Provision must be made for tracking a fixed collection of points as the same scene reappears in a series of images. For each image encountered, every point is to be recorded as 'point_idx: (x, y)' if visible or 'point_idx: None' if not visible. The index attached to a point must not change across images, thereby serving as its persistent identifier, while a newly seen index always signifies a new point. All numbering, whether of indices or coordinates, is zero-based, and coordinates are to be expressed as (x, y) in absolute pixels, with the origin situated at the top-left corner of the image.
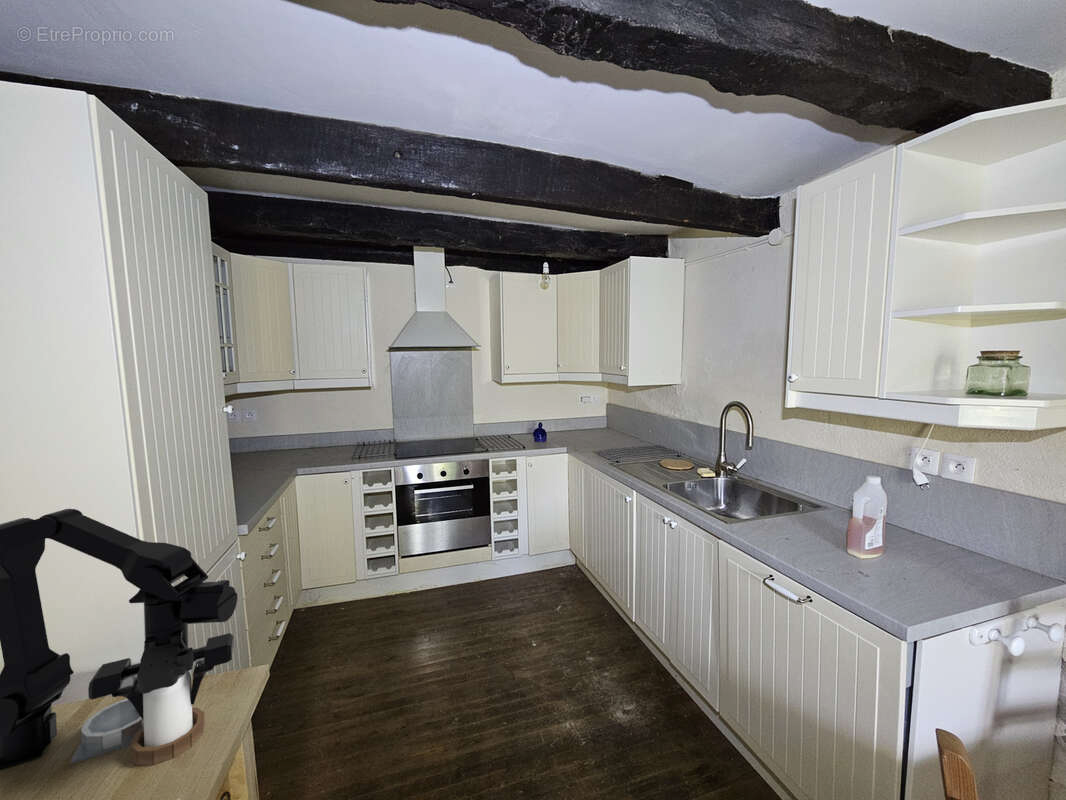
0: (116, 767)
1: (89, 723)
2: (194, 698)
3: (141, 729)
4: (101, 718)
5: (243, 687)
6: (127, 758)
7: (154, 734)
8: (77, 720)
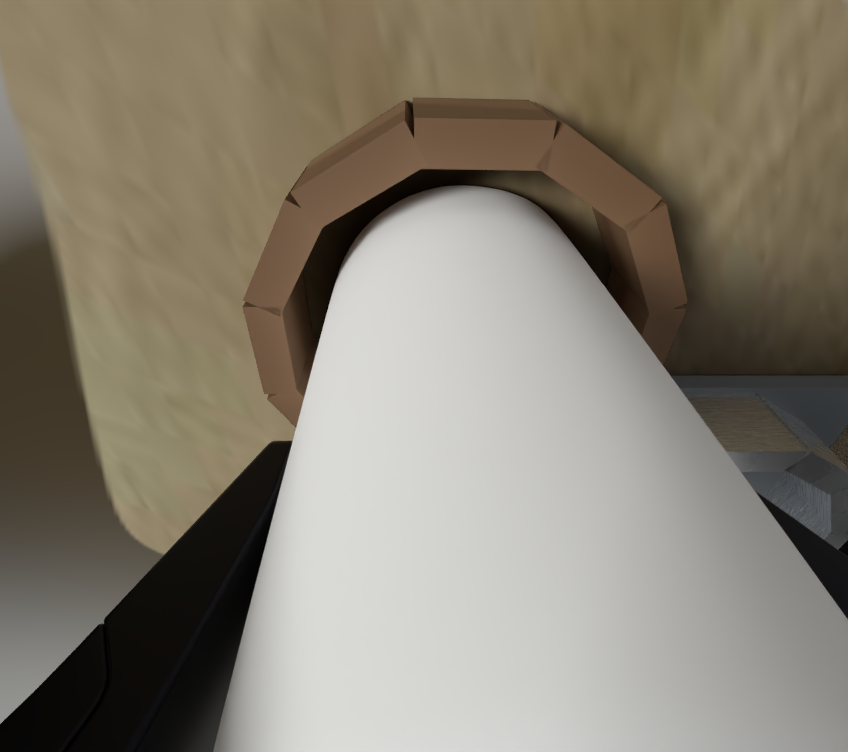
0: (715, 225)
1: None
2: (241, 485)
3: None
4: None
5: (177, 518)
6: None
7: (569, 259)
8: None
